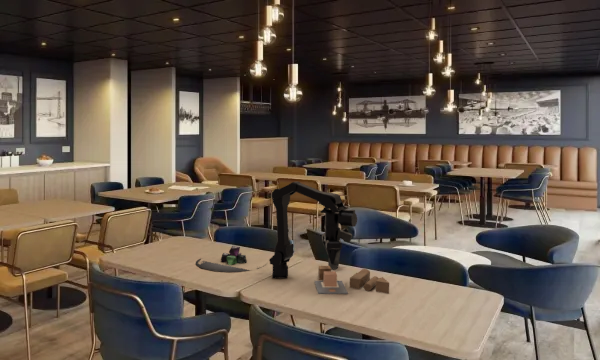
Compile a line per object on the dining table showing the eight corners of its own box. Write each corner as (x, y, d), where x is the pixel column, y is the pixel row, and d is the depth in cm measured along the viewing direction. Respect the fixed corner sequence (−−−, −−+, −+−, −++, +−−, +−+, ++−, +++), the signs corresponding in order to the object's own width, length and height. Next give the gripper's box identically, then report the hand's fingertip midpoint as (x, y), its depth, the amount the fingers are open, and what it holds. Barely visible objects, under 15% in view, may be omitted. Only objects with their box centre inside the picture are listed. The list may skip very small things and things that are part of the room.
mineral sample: (280, 266, 244) (280, 247, 244) (213, 276, 225) (213, 255, 224) (246, 255, 273) (246, 238, 273) (184, 263, 253) (184, 245, 253)
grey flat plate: (318, 293, 204) (318, 292, 204) (314, 281, 220) (314, 280, 219) (347, 293, 204) (347, 292, 204) (342, 282, 220) (342, 280, 220)
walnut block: (319, 279, 223) (319, 268, 223) (318, 276, 228) (318, 265, 228) (330, 279, 224) (331, 268, 223) (329, 276, 228) (329, 265, 228)
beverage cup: (340, 270, 238) (341, 228, 236) (324, 269, 239) (325, 227, 237) (341, 266, 245) (343, 226, 243) (326, 265, 246) (328, 225, 244)
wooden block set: (348, 275, 212) (362, 265, 228) (348, 289, 212) (361, 278, 228) (388, 281, 205) (399, 270, 221) (388, 295, 205) (398, 283, 221)
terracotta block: (324, 286, 211) (325, 274, 211) (323, 282, 216) (323, 271, 216) (336, 286, 212) (336, 274, 211) (335, 282, 217) (335, 271, 216)
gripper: (354, 228, 203) (353, 266, 204) (347, 220, 221) (346, 255, 223) (327, 228, 202) (326, 266, 203) (322, 220, 220) (321, 255, 222)
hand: (331, 260), depth 213 cm, fingers open, 9 cm apart
